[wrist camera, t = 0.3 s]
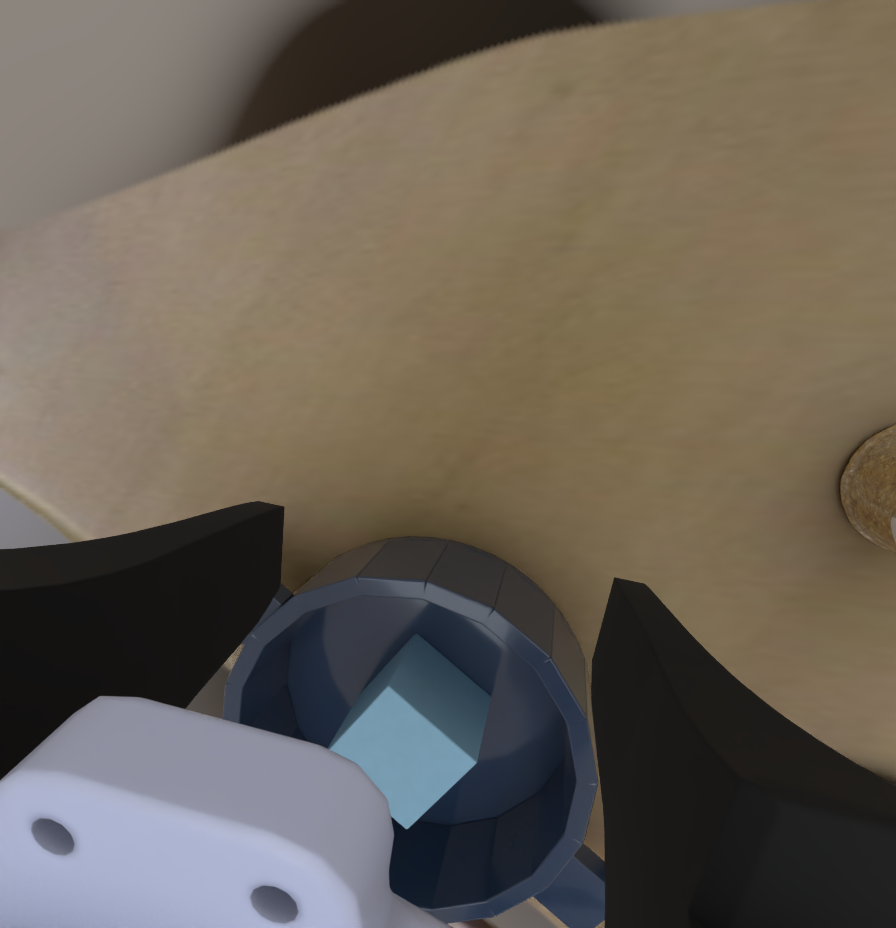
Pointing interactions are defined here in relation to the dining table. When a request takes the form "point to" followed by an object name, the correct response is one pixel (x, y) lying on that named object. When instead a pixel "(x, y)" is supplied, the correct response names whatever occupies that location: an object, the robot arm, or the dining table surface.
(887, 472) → the sprinkles bottle
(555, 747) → the pot
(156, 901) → the robot arm
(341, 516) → the dining table surface
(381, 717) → the blue cube
